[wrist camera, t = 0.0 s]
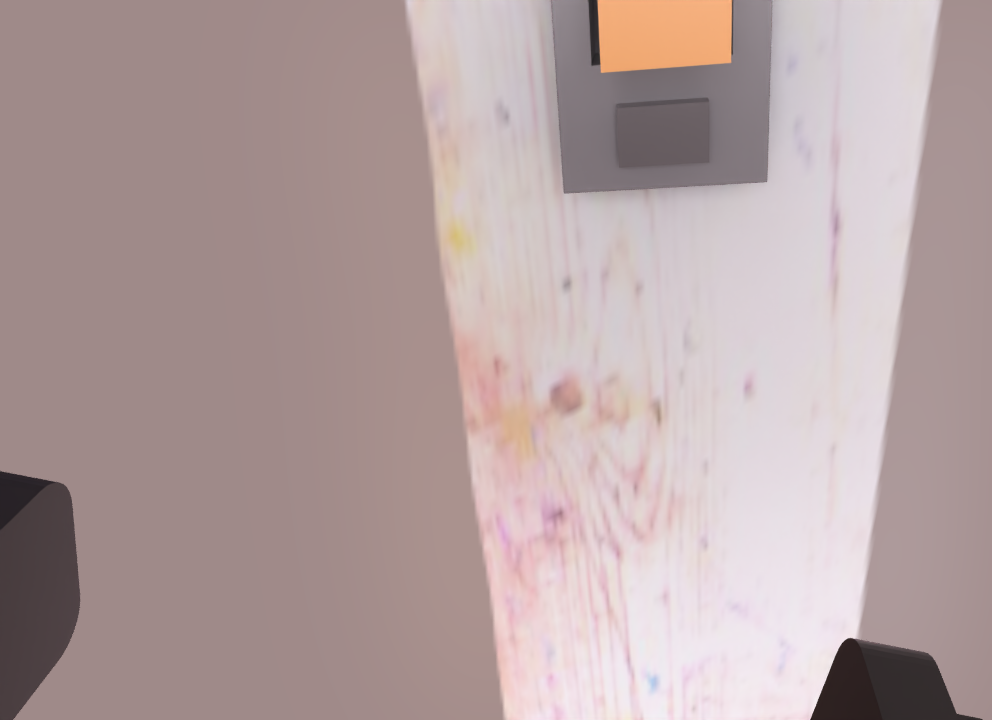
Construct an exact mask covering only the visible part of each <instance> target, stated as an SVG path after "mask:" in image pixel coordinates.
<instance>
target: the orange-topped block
mask: <svg viewBox="0 0 992 720" xmlns="http://www.w3.org/2000/svg"><path fill="white" fill-rule="evenodd" d="M598 20H599V42H600V64H601V73H606V72H619V71H632V70H645V69H658V68H671V67H684V66H697V65H710V64H723V63H731V37H732V0H598Z"/></svg>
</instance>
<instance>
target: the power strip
mask: <svg viewBox="0 0 992 720" xmlns="http://www.w3.org/2000/svg"><path fill="white" fill-rule="evenodd" d="M551 4H552V19H553V35H554V50H555V65H556V81H557V96H558V111H559V127H560V142H561V157H562V173H563V188H564V193H582V192H599V191H617V190H635V189H652V188H670V187H688V186H705V185H723V184H741V183H758V182H767V169H768V134H769V98H770V62H771V27H772V0H732V37H731V63H723V64H710V65H697V66H684V67H671V68H658V69H645V70H632V71H619V72H606V73H601V64H600V42H599V20H598V0H551Z"/></svg>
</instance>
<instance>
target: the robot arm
mask: <svg viewBox="0 0 992 720" xmlns="http://www.w3.org/2000/svg"><path fill="white" fill-rule="evenodd" d="M79 606H80V589H79V579H78V566H77V554H76V544H75V531H74V520H73V508H72V500H71V496H70V492H69V490H68V489H67V487H66V486H65V485H64V484H61V483H58V482H53V481H48V480H43V479H38V478H32V477H27V476H22V475H17V474H11V473H6V472H1V471H0V720H13V719H14V718H15V717H16V715H17V714H18V713H19V711H20V710H21V709H22V707H23V706H24V705H25V704H26V702H27V701H28V700H29V698H30V697H31V695H32V694H33V693H34V692H35V690H36V689H37V688H38V686H39V685H40V684H41V683H42V681H43V680H44V679H45V677H46V676H47V675H48V674H49V672H50V671H51V669H52V668H53V667H54V666H55V664H56V663H57V662H58V660H59V659H60V658H61V656H62V655H63V653H64V651H65V649H66V648H67V646H68V644H69V642H70V639H71V637H72V634H73V632H74V629H75V626H76V622H77V618H78V614H79V608H80V607H79ZM810 720H982V719H980V718H974V717H969V716H964V715H959V714H957V713H956V711H955V709H954V706H953V703H952V701H951V698H950V696H949V694H948V691H947V689H946V686H945V683H944V681H943V678H942V676H941V673H940V671H939V669H938V666H937V664H936V662H935V660H934V659H933V658H932V657H931V656H930V655H929V654H928V653H925V652H920V651H915V650H910V649H905V648H899V647H895V646H890V645H884V644H879V643H874V642H869V641H863V640H858V639H853V638H848V639H846V640H845V641H844V642H843V643H842V644H841V646H840V647H839V649H838V651H837V654H836V656H835V658H834V661H833V664H832V666H831V669H830V671H829V674H828V676H827V679H826V681H825V684H824V686H823V689H822V691H821V694H820V697H819V699H818V702H817V704H816V707H815V709H814V712H813V714H812V717H811V719H810Z"/></svg>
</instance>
